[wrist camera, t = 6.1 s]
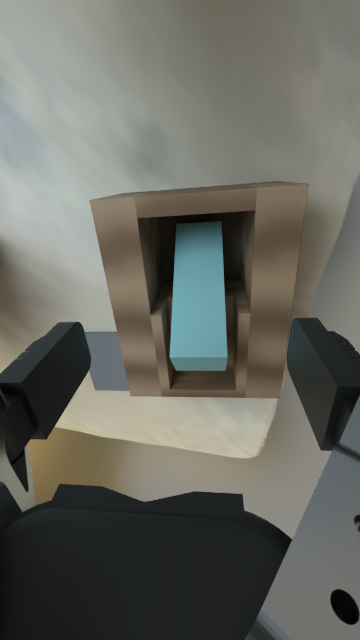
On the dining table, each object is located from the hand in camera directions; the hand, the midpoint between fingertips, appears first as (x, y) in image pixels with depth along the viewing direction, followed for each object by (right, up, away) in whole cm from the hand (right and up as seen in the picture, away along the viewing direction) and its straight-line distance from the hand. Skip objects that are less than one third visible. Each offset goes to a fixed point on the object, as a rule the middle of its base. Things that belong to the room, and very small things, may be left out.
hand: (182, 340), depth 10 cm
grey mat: (-9, -5, +29) cm, 31 cm away
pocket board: (+3, +6, +22) cm, 23 cm away
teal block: (+2, +2, +17) cm, 18 cm away
